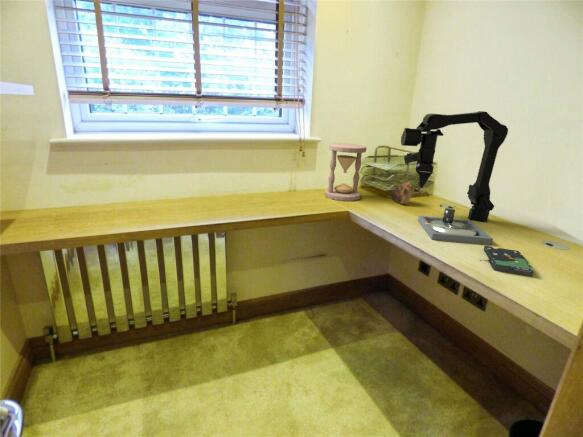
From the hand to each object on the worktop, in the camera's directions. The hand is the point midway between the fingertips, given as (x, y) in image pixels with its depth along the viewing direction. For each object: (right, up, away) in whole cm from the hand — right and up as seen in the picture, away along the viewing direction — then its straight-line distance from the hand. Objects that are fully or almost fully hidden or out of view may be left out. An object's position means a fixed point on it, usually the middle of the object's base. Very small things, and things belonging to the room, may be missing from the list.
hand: (421, 185), depth 142 cm
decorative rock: (0, -6, +26) cm, 26 cm away
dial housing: (+7, -19, -12) cm, 24 cm away
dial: (+7, -19, -12) cm, 23 cm away
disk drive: (+13, -28, -34) cm, 46 cm away
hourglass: (-28, -3, +31) cm, 41 cm away
